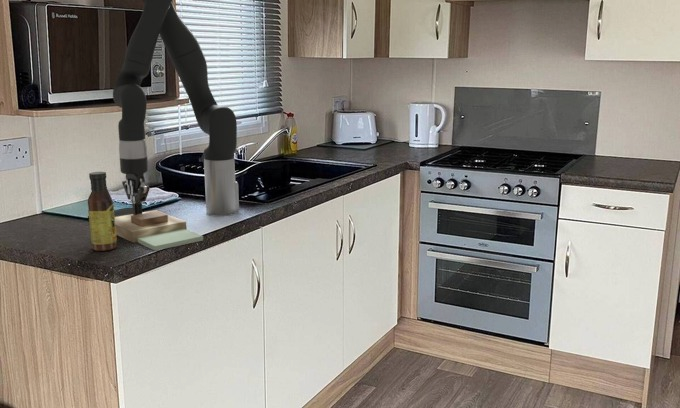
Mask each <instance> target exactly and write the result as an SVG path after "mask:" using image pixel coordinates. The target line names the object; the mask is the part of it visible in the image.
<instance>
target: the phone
mask: <svg viewBox="0 0 680 408" xmlns="http://www.w3.org/2000/svg"><path fill="white" fill-rule="evenodd" d="M130 214H133V208H132V207H131V206H130V207H124V208H123V207H122V208H118V209H114V215H115V217H119V216H124V215H130ZM88 218H89V215H87V219H88Z"/></svg>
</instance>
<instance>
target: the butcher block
mask: <svg viewBox="0 0 680 408" xmlns="http://www.w3.org/2000/svg"><path fill="white" fill-rule="evenodd" d="M155 211H158V212H161V213H164V212H162V211H160V210H157V209H153V210H147V211H144V212H143V211H142V214H144V213H149V212H155ZM164 214H166V215H168V222H165V223H160V224H154V225H149V226H144V227H140V226H138V225H136V224H133V223H131V216H132V215H133V214H130V215H124V216H119V217H115V226H116V236H119V237H120V238H123V239H124V240H127V241H129V242H131V243H133V244H134V243H138V241H137V238H140V237H145V236H150V235H155V234H160V233H165V232H170V231H175V230H180V229H186V230H188V229H187V221H186V220H184V219H181V218H178V217H175V216H172V215H170V214H167V213H164Z"/></svg>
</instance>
